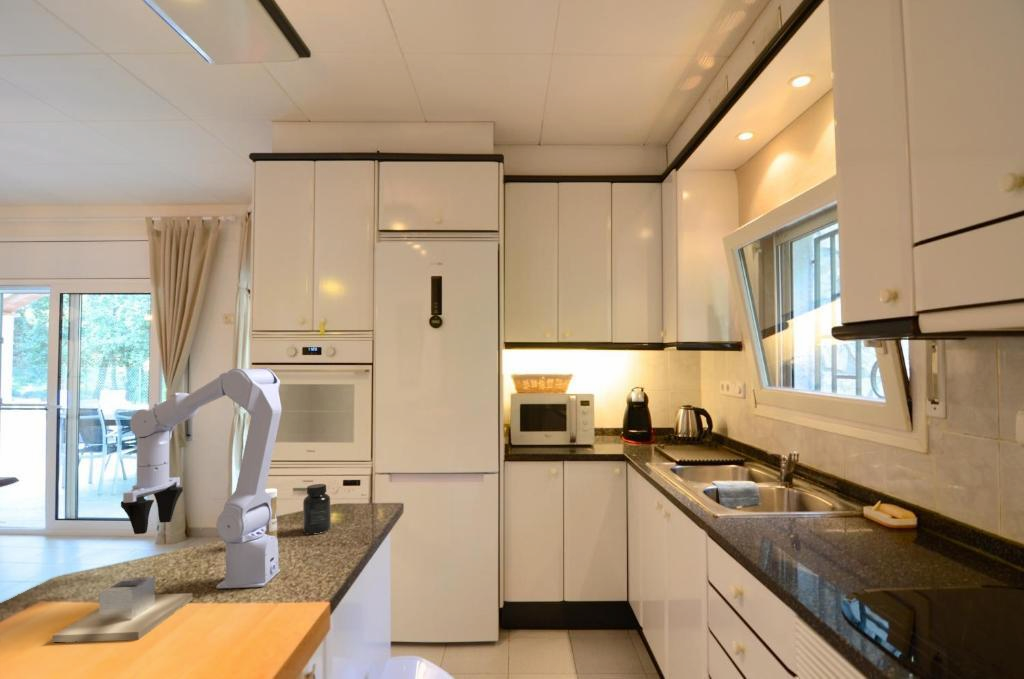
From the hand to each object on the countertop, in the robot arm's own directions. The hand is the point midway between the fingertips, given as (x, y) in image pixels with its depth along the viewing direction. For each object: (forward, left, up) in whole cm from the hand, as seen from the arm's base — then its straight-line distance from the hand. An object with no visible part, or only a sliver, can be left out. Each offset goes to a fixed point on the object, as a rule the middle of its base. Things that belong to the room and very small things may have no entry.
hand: (153, 527), depth 108 cm
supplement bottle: (-25, -27, -11) cm, 38 cm away
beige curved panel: (-9, +19, -10) cm, 23 cm away
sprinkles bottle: (-16, -18, -11) cm, 26 cm away
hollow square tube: (-9, +19, -9) cm, 23 cm away
